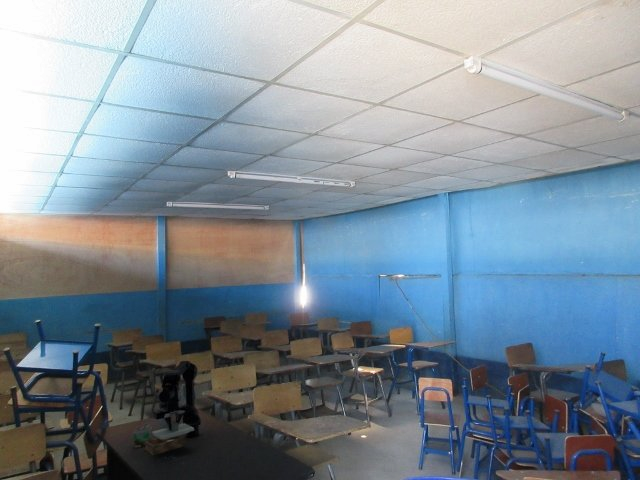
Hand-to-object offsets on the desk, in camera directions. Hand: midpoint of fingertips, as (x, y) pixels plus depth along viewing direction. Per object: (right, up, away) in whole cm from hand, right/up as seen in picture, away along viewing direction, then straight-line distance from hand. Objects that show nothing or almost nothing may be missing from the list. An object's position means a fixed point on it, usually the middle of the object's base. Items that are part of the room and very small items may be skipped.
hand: (173, 429), depth 220 cm
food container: (-21, -16, +15) cm, 30 cm away
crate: (-7, -14, +8) cm, 18 cm away
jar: (-5, -14, +10) cm, 18 cm away
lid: (0, -3, 0) cm, 3 cm away
